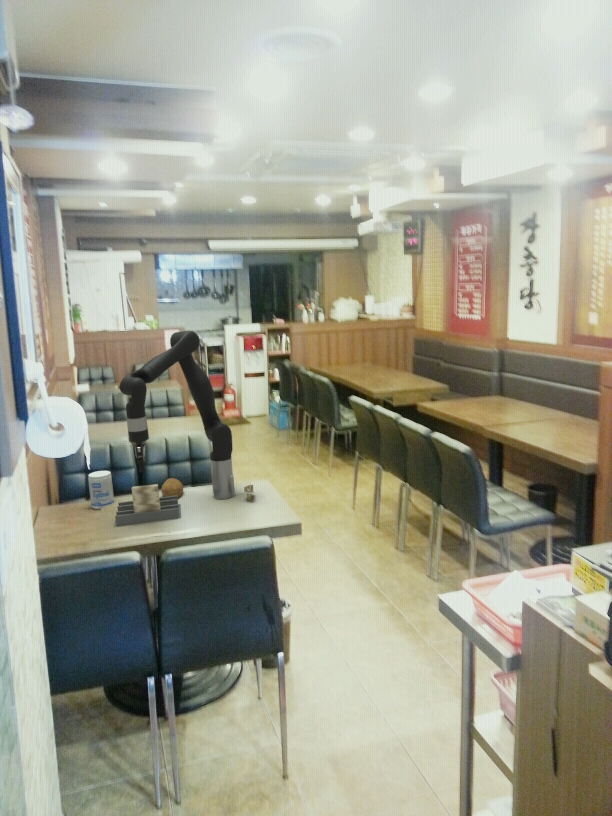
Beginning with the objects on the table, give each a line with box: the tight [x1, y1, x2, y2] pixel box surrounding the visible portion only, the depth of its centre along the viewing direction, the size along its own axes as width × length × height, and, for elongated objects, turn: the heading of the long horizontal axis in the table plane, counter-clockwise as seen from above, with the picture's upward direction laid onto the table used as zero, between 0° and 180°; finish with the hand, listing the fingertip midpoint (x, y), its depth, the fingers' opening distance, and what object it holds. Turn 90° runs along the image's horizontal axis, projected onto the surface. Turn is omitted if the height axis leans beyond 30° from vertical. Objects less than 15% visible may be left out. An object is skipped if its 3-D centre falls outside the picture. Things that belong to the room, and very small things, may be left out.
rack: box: [113, 496, 182, 528], centre depth 254 cm, size 26×16×6 cm, turn 102°
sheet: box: [131, 483, 161, 513], centre depth 247 cm, size 10×2×14 cm, turn 101°
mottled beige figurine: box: [243, 483, 254, 502], centre depth 271 cm, size 12×18×7 cm, turn 5°
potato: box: [160, 477, 184, 498], centre depth 276 cm, size 10×14×8 cm
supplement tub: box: [87, 470, 115, 510], centre depth 270 cm, size 10×10×15 cm
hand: (142, 468), depth 244 cm, fingers open, 8 cm apart
